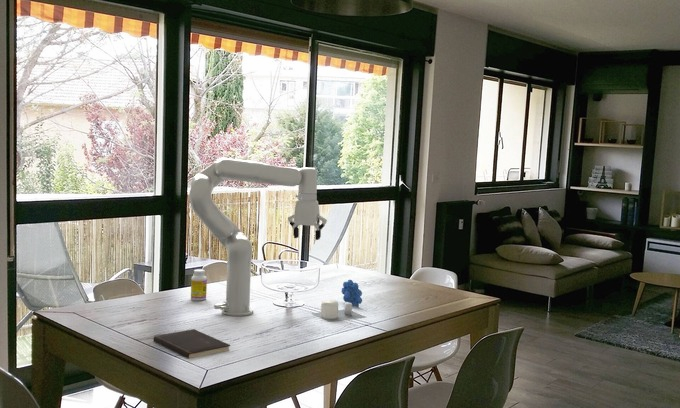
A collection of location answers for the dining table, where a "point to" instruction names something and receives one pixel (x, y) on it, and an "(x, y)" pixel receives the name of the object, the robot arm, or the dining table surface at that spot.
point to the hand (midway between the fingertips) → (306, 238)
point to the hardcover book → (191, 343)
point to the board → (343, 314)
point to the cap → (329, 309)
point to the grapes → (352, 293)
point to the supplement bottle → (198, 285)
